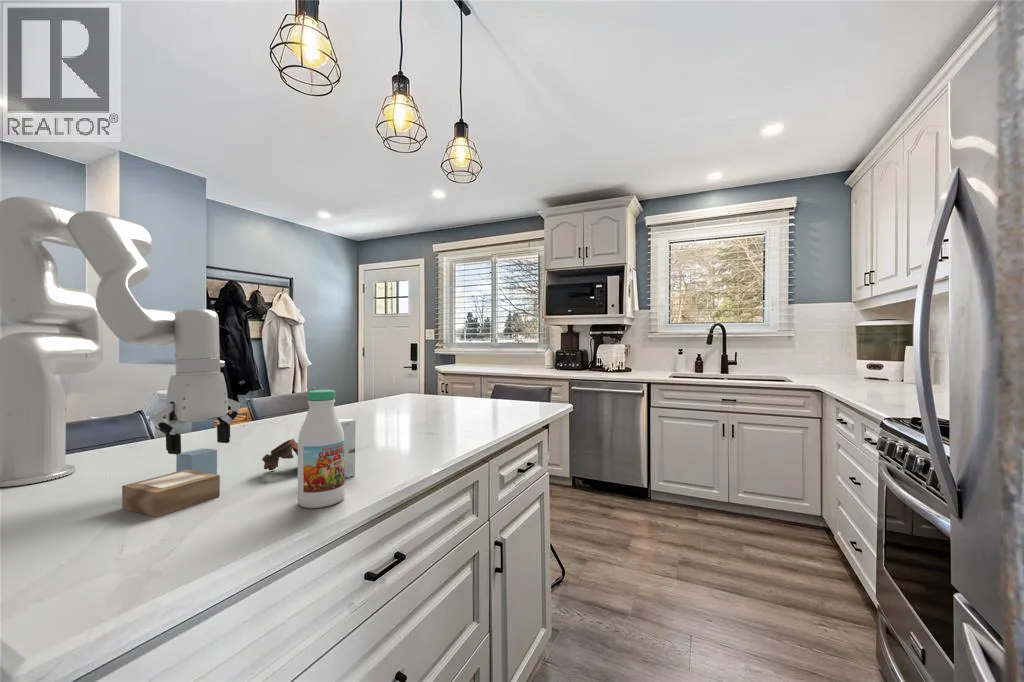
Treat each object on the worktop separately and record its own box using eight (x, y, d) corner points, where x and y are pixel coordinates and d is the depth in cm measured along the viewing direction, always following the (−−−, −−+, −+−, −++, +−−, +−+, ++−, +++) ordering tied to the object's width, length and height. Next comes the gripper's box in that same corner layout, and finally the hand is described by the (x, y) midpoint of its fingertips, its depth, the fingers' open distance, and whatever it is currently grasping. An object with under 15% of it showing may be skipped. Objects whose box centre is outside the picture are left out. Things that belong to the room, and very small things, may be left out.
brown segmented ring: (304, 480, 88) (282, 449, 86) (270, 497, 89) (247, 467, 88) (331, 452, 99) (312, 424, 98) (300, 467, 101) (281, 440, 99)
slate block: (176, 482, 86) (176, 453, 86) (201, 475, 90) (202, 447, 90) (191, 485, 84) (191, 455, 84) (217, 477, 89) (217, 449, 89)
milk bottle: (287, 508, 71) (287, 392, 71) (315, 492, 79) (315, 388, 79) (328, 510, 70) (328, 393, 70) (353, 494, 77) (352, 388, 78)
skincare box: (327, 482, 84) (327, 423, 85) (319, 477, 88) (319, 420, 88) (356, 475, 89) (356, 419, 89) (348, 471, 92) (348, 417, 92)
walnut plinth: (122, 508, 71) (122, 485, 71) (185, 490, 81) (185, 469, 81) (157, 517, 68) (157, 492, 68) (219, 496, 77) (219, 474, 77)
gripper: (227, 365, 97) (229, 438, 97) (138, 370, 81) (140, 457, 81) (249, 364, 94) (251, 439, 94) (161, 369, 78) (163, 460, 78)
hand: (200, 447), depth 87 cm, fingers open, 9 cm apart
